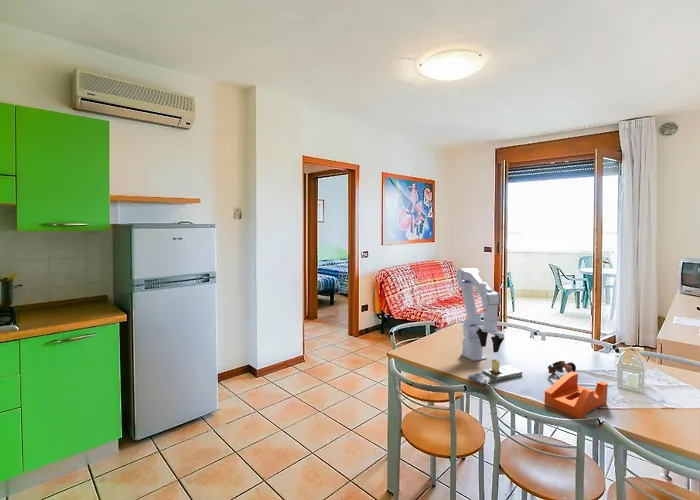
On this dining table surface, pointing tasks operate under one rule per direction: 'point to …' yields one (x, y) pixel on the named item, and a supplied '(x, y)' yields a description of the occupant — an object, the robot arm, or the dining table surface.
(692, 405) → the dining table surface
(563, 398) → the orange notched block
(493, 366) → the brass pin
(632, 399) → the dining table surface
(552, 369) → the brown jointed arch
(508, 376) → the white grey flat block
